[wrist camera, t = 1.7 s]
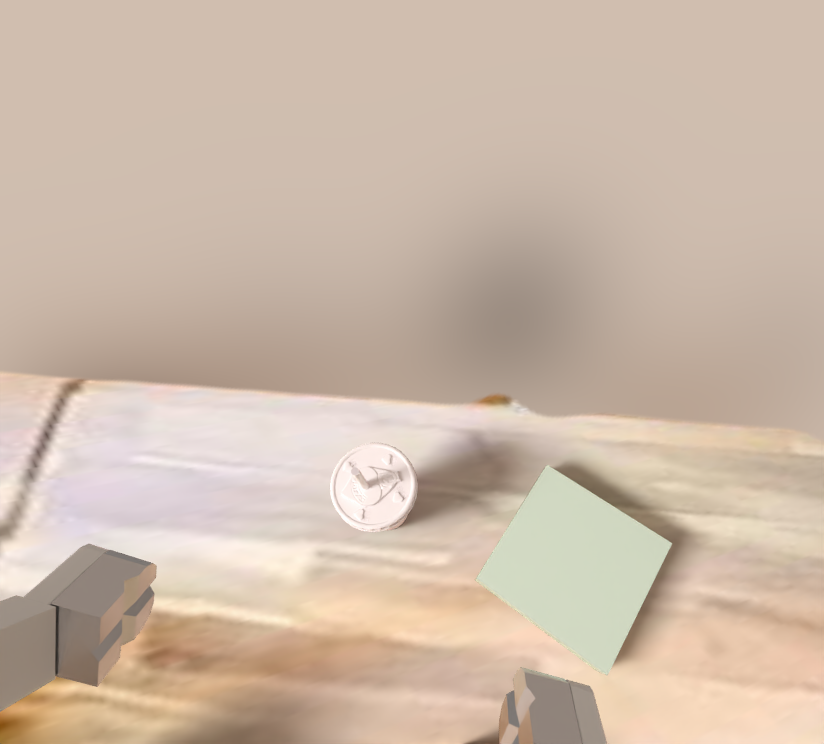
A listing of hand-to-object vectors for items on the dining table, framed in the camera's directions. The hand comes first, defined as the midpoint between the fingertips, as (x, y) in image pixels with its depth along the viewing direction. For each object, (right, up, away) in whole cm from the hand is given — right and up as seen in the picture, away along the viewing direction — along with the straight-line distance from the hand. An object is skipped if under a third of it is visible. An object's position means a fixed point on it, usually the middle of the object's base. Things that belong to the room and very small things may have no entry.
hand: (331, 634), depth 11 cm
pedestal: (+15, -10, +31) cm, 36 cm away
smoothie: (0, -7, +34) cm, 35 cm away
